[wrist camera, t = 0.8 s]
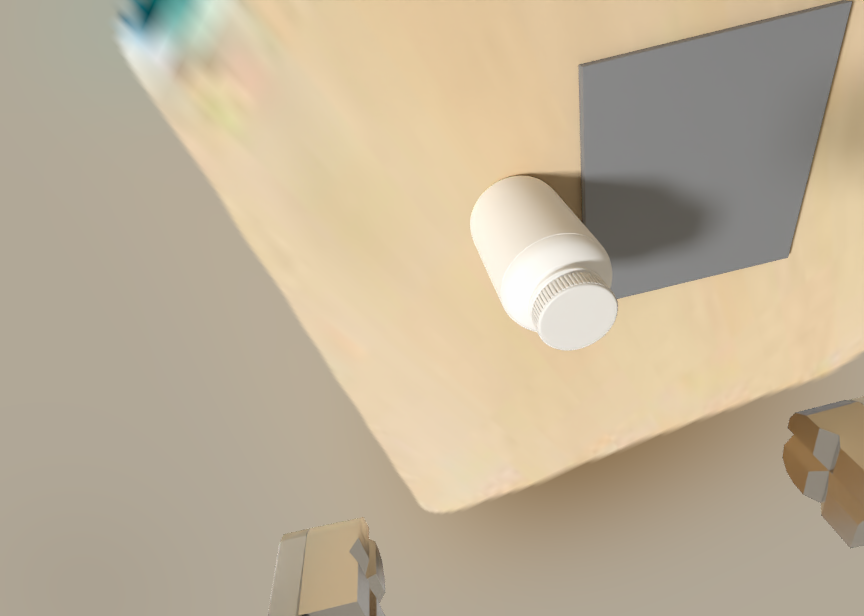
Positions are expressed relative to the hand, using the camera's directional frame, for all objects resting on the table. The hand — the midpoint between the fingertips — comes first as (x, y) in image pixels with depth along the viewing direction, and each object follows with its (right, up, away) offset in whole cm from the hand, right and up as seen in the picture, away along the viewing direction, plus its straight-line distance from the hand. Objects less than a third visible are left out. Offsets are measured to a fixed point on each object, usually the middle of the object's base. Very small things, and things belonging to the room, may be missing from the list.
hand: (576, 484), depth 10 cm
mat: (+20, +15, +35) cm, 43 cm away
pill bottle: (+4, +11, +35) cm, 37 cm away
